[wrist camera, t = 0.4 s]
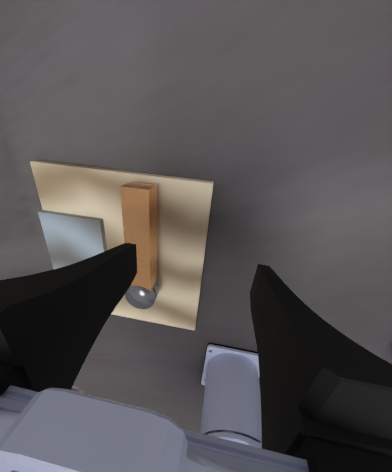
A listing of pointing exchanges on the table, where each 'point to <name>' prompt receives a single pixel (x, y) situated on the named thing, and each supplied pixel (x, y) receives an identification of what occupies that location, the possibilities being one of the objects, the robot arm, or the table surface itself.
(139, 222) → the bar
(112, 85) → the table surface
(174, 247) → the door frame board
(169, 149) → the table surface
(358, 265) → the table surface
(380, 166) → the table surface
